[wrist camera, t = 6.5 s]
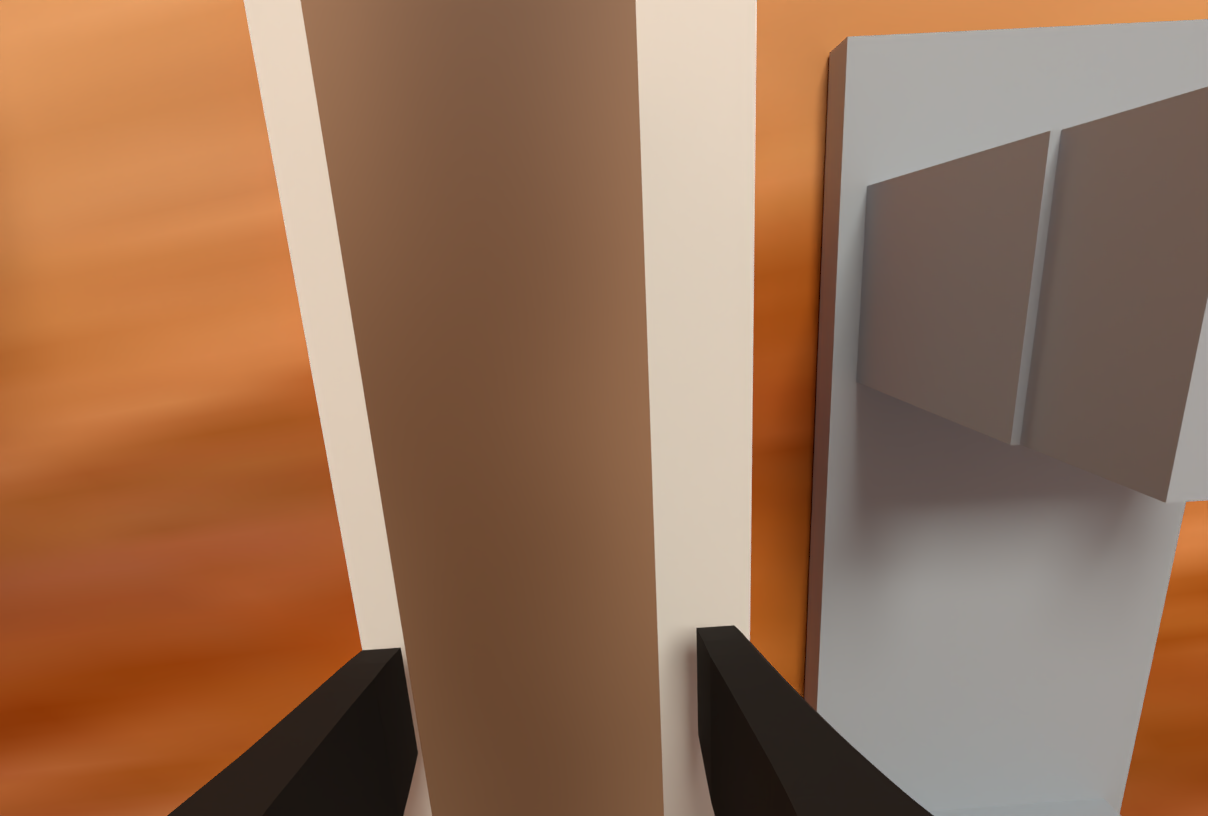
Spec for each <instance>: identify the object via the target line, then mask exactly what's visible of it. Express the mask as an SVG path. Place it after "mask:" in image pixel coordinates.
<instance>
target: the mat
mask: <svg viewBox="0 0 1208 816" xmlns="http://www.w3.org/2000/svg"><path fill="white" fill-rule="evenodd" d="M244 5H245V10H246V16H247V21H248V27H249V32H250V38H251V43H252V49H253V54H254V60H255V65H256V71H257V76H258V82H259V87H260V92H261V98H262V103H263V109H264V114H265V120H266V125H267V131H268V136H269V142H270V147H271V153H272V158H273V164H274V169H275V175H276V180H277V185H278V191H279V196H280V202H281V207H282V213H283V218H284V224H285V229H286V235H287V240H288V246H289V251H290V257H291V262H292V267H293V273H294V278H295V284H296V289H297V295H298V300H299V306H300V311H301V317H302V322H303V328H304V333H305V339H306V344H307V349H308V355H309V360H310V366H311V371H312V377H313V382H314V388H315V393H316V399H317V404H318V410H319V415H320V421H321V426H322V431H323V437H324V442H325V448H326V453H327V459H328V464H329V470H330V475H331V481H332V486H333V492H334V497H335V503H336V508H337V514H338V519H339V524H340V530H341V535H342V541H343V546H344V552H345V557H346V563H347V568H348V574H349V579H350V585H351V590H352V596H353V601H354V606H355V612H356V617H357V623H358V628H359V634H360V639H361V645H362V650H372V649H387V648H401V652H402V658H403V664H404V670H405V676H406V682H407V688H408V695H409V701H410V707H411V713H412V719H413V725H414V731H415V737H416V743H417V750H418V756H417V761H416V765H415V769H414V774H413V778H412V783H411V787H410V791H409V795H408V799H407V803H406V807H405V811H404V815H403V816H432V812H431V806H430V800H429V794H428V788H427V781H426V775H425V769H424V763H423V757H422V750H421V744H420V738H419V732H418V726H417V719H416V713H415V707H414V701H413V695H412V688H411V682H410V676H409V670H408V664H407V657H406V651H405V645H404V639H403V633H402V626H401V620H400V614H399V608H398V602H397V595H396V589H395V583H394V577H393V571H392V564H391V558H390V552H389V546H388V540H387V533H386V527H385V521H384V515H383V509H382V503H381V496H380V490H379V484H378V478H377V472H376V465H375V459H374V453H373V447H372V441H371V434H370V428H369V422H368V416H367V410H366V403H365V397H364V391H363V385H362V379H361V372H360V366H359V360H358V354H357V348H356V341H355V335H354V329H353V323H352V317H351V310H350V304H349V298H348V292H347V286H346V279H345V273H344V267H343V261H342V255H341V248H340V242H339V236H338V230H337V224H336V217H335V211H334V205H333V199H332V193H331V186H330V180H329V174H328V168H327V162H326V155H325V149H324V143H323V137H322V131H321V124H320V118H319V112H318V106H317V100H316V93H315V87H314V81H313V75H312V69H311V63H310V56H309V50H308V44H307V38H306V32H305V25H304V19H303V13H302V7H301V1H300V0H244ZM636 28H637V56H638V85H639V114H640V142H641V171H642V200H643V228H644V257H645V286H646V314H647V343H648V372H649V400H650V429H651V458H652V486H653V515H654V544H655V572H656V601H657V630H658V658H659V687H660V716H661V744H662V773H663V802H664V816H715V814H714V811H713V807H712V804H711V799H710V794H709V789H708V784H707V779H706V774H705V769H704V763H703V758H702V753H701V747H700V742H699V737H698V702H697V638H696V628H701V627H716V626H731V625H734V626H736V627H737V628H738V629H739V630H740V631H741V632H742V633H743V634H744V635H745V637H746V638H747V639H748V640H749V641H750V586H751V494H752V401H753V309H754V217H755V125H756V32H757V0H636Z"/></svg>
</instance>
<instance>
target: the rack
mask: <svg viewBox="0 0 1208 816" xmlns="http://www.w3.org/2000/svg"><path fill="white" fill-rule="evenodd" d="M1204 500H1208V19H1204V20H1184V21H1163V22H1142V23H1122V24H1101V25H1081V26H1060V27H1039V28H1019V29H998V30H977V31H957V32H936V33H915V34H895V35H874V36H853V37H847V38H846V39H845V40H844V41H842V42H841V43H840V44H839V45H838V46H837V47H836V48H835V49H833V50H832V51H831V52H830V58H829V83H828V109H827V134H826V160H825V185H824V211H823V237H822V262H821V288H820V313H819V339H818V364H817V390H816V416H815V441H814V467H813V492H812V518H811V543H810V569H809V594H808V620H807V646H806V671H805V697H804V700H805V701H806V702H807V703H808V704H809V705H810V706H812V707H813V708H814V709H815V710H816V711H817V712H818V713H819V714H820V715H821V716H822V717H823V718H824V719H825V720H826V721H827V722H828V723H829V724H830V725H831V726H832V727H833V728H834V729H835V730H836V731H837V732H838V733H839V734H840V735H841V736H842V737H843V738H844V739H846V740H847V741H848V742H849V743H850V744H851V745H852V746H853V747H854V748H855V749H856V750H857V751H858V752H860V753H861V754H862V755H863V756H864V757H865V758H866V759H867V760H869V761H870V762H871V763H872V764H873V765H874V766H875V767H876V768H877V769H879V770H880V771H881V772H882V773H883V774H884V775H885V776H886V777H888V778H889V779H890V780H891V781H892V782H893V783H895V784H896V785H897V786H898V787H899V788H900V789H902V790H903V791H904V792H905V793H906V794H907V795H909V796H910V797H911V798H912V799H913V800H915V801H916V802H917V803H918V804H920V805H921V806H922V807H923V808H925V809H926V810H927V811H928V812H930V813H931V814H932V815H934V816H1120V815H1119V814H1120V809H1121V804H1122V799H1123V795H1124V790H1125V785H1126V781H1127V776H1128V771H1129V767H1130V762H1131V757H1132V753H1133V748H1134V743H1135V738H1136V734H1137V729H1138V724H1139V720H1140V715H1141V710H1142V706H1143V701H1144V696H1145V692H1146V687H1147V682H1148V677H1149V673H1150V668H1151V663H1152V659H1153V654H1154V649H1155V645H1156V640H1157V635H1158V631H1159V626H1160V621H1161V616H1162V612H1163V607H1164V602H1165V598H1166V593H1167V588H1168V584H1169V579H1170V574H1171V570H1172V565H1173V560H1174V556H1175V551H1176V546H1177V541H1178V537H1179V532H1180V527H1181V523H1182V518H1183V513H1184V509H1185V504H1186V502H1188V501H1204Z"/></svg>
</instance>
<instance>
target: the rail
mask: <svg viewBox="0 0 1208 816" xmlns="http://www.w3.org/2000/svg"><path fill="white" fill-rule="evenodd" d="M300 1H301V7H302V13H303V19H304V25H305V32H306V38H307V44H308V50H309V56H310V63H311V69H312V75H313V81H314V87H315V93H316V100H317V106H318V112H319V118H320V124H321V131H322V137H323V143H324V149H325V155H326V162H327V168H328V174H329V180H330V186H331V193H332V199H333V205H334V211H335V217H336V224H337V230H338V236H339V242H340V248H341V255H342V261H343V267H344V273H345V279H346V286H347V292H348V298H349V304H350V310H351V317H352V323H353V329H354V335H355V341H356V348H357V354H358V360H359V366H360V372H361V379H362V385H363V391H364V397H365V403H366V410H367V416H368V422H369V428H370V434H371V441H372V447H373V453H374V459H375V465H376V472H377V478H378V484H379V490H380V496H381V503H382V509H383V515H384V521H385V527H386V533H387V540H388V546H389V552H390V558H391V564H392V571H393V577H394V583H395V589H396V595H397V602H398V608H399V614H400V620H401V626H402V633H403V639H404V645H405V651H406V657H407V664H408V670H409V676H410V682H411V688H412V695H413V701H414V707H415V713H416V719H417V726H418V732H419V738H420V744H421V750H422V757H423V763H424V769H425V775H426V781H427V788H428V794H429V800H430V806H431V812H432V816H664V802H663V773H662V744H661V716H660V687H659V658H658V630H657V601H656V572H655V544H654V515H653V486H652V458H651V429H650V400H649V372H648V343H647V314H646V286H645V257H644V228H643V200H642V171H641V142H640V114H639V85H638V56H637V28H636V0H300Z"/></svg>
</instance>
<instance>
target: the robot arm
mask: <svg viewBox="0 0 1208 816" xmlns="http://www.w3.org/2000/svg"><path fill="white" fill-rule="evenodd" d="M696 638H697V702H698V737H699V742H700V747H701V753H702V758H703V763H704V769H705V774H706V779H707V784H708V789H709V794H710V799H711V804H712V807H713V811H714V814H715V816H934V815H932V814H931V813H930V812H928V811H927V810H926V809H925V808H923V807H922V806H921V805H920V804H918V803H917V802H916V801H915V800H913V799H912V798H911V797H910V796H909V795H907V794H906V793H905V792H904V791H903V790H902V789H900V788H899V787H898V786H897V785H896V784H895V783H893V782H892V781H891V780H890V779H889V778H888V777H886V776H885V775H884V774H883V773H882V772H881V771H880V770H879V769H877V768H876V767H875V766H874V765H873V764H872V763H871V762H870V761H869V760H867V759H866V758H865V757H864V756H863V755H862V754H861V753H860V752H858V751H857V750H856V749H855V748H854V747H853V746H852V745H851V744H850V743H849V742H848V741H847V740H846V739H844V738H843V737H842V736H841V735H840V734H839V733H838V732H837V731H836V730H835V729H834V728H833V727H832V726H831V725H830V724H829V723H828V722H827V721H826V720H825V719H824V718H823V717H822V716H821V715H820V714H819V713H818V712H817V711H816V710H815V709H814V708H813V707H812V706H810V705H809V704H808V703H807V702H806V701H805V700H804V699H803V698H802V697H801V696H800V695H799V694H798V692H797V691H796V690H795V689H794V688H793V687H792V686H791V685H790V684H789V683H788V682H787V681H786V680H785V679H784V678H783V677H782V676H781V675H780V674H779V673H778V672H777V671H776V669H775V668H774V667H773V666H772V665H771V664H770V663H769V662H768V661H767V660H766V659H765V658H764V656H763V655H762V654H761V653H760V652H759V651H758V650H757V649H756V648H755V647H754V645H753V644H752V643H751V642H750V641H749V640H748V639H747V638H746V637H745V635H744V634H743V633H742V632H741V631H740V630H739V629H738V628H737V627H736V626H734V625H731V626H716V627H701V628H696ZM417 756H418V750H417V743H416V737H415V731H414V725H413V719H412V713H411V707H410V701H409V695H408V688H407V682H406V676H405V670H404V664H403V658H402V652H401V648H387V649H372V650H362V651H361V652H360V653H358V654H357V655H356V656H355V657H353V658H352V659H351V660H350V661H349V662H347V663H346V664H345V665H344V666H343V667H342V668H340V669H339V670H338V671H337V672H336V673H335V674H334V675H332V676H331V677H330V678H329V679H328V680H327V681H326V682H324V683H323V684H322V685H321V686H320V687H319V688H318V689H317V690H315V691H314V692H313V693H312V694H311V695H310V696H309V697H308V698H306V699H305V700H304V701H303V702H302V703H301V704H300V705H299V706H297V707H296V708H295V709H294V710H293V711H292V712H291V713H289V714H288V715H287V716H286V717H285V718H284V719H283V720H281V721H280V722H279V723H278V724H277V725H276V726H275V727H273V728H272V729H271V730H270V731H269V732H268V733H266V734H265V735H264V736H263V737H262V738H261V739H260V740H258V741H257V742H256V743H255V744H254V745H253V746H252V747H250V748H249V749H248V750H247V751H246V752H245V753H243V754H242V755H241V756H240V757H239V758H237V759H236V760H235V761H234V762H233V763H231V764H230V765H229V766H228V767H226V768H225V769H224V770H223V771H222V772H220V773H219V774H218V775H217V776H215V777H214V778H213V779H212V780H210V781H209V782H208V783H207V784H206V785H204V786H203V787H202V788H201V789H199V790H198V791H197V792H196V793H195V794H193V795H192V796H191V797H190V798H188V799H187V800H186V801H185V802H183V803H182V804H181V805H180V806H179V807H177V808H176V809H175V810H174V811H172V812H171V813H170V814H169V815H168V816H403V815H404V811H405V807H406V803H407V799H408V795H409V791H410V787H411V783H412V778H413V774H414V769H415V765H416V761H417Z"/></svg>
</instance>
